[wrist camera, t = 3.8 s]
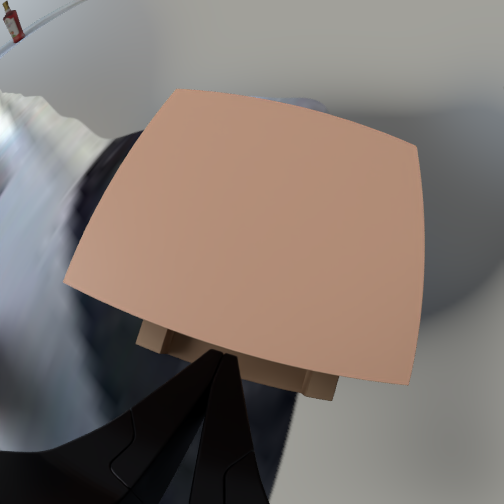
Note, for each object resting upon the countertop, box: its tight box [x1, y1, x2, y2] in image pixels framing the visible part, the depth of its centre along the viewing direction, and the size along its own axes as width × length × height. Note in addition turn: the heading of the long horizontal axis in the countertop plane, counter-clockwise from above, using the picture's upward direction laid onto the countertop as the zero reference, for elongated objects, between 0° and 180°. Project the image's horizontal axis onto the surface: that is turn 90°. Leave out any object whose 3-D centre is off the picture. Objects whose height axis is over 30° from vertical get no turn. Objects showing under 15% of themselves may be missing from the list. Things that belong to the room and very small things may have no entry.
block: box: [63, 89, 425, 385], centre depth 10 cm, size 6×7×11 cm
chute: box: [136, 320, 339, 401], centre depth 15 cm, size 15×11×4 cm
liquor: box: [3, 1, 25, 43], centre depth 42 cm, size 7×7×28 cm
